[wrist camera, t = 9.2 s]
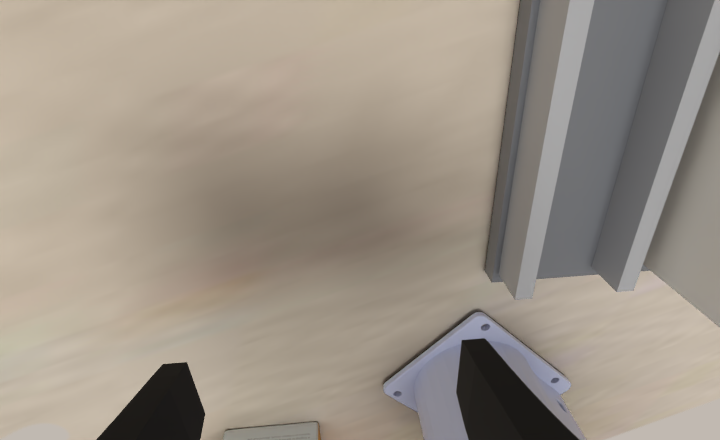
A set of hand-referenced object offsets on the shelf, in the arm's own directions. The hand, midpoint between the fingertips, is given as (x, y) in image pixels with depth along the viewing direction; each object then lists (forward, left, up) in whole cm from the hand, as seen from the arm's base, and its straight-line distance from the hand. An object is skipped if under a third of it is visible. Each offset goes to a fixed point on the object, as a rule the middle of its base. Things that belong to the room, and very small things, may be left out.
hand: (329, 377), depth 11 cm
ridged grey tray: (-7, -12, -9) cm, 17 cm away
